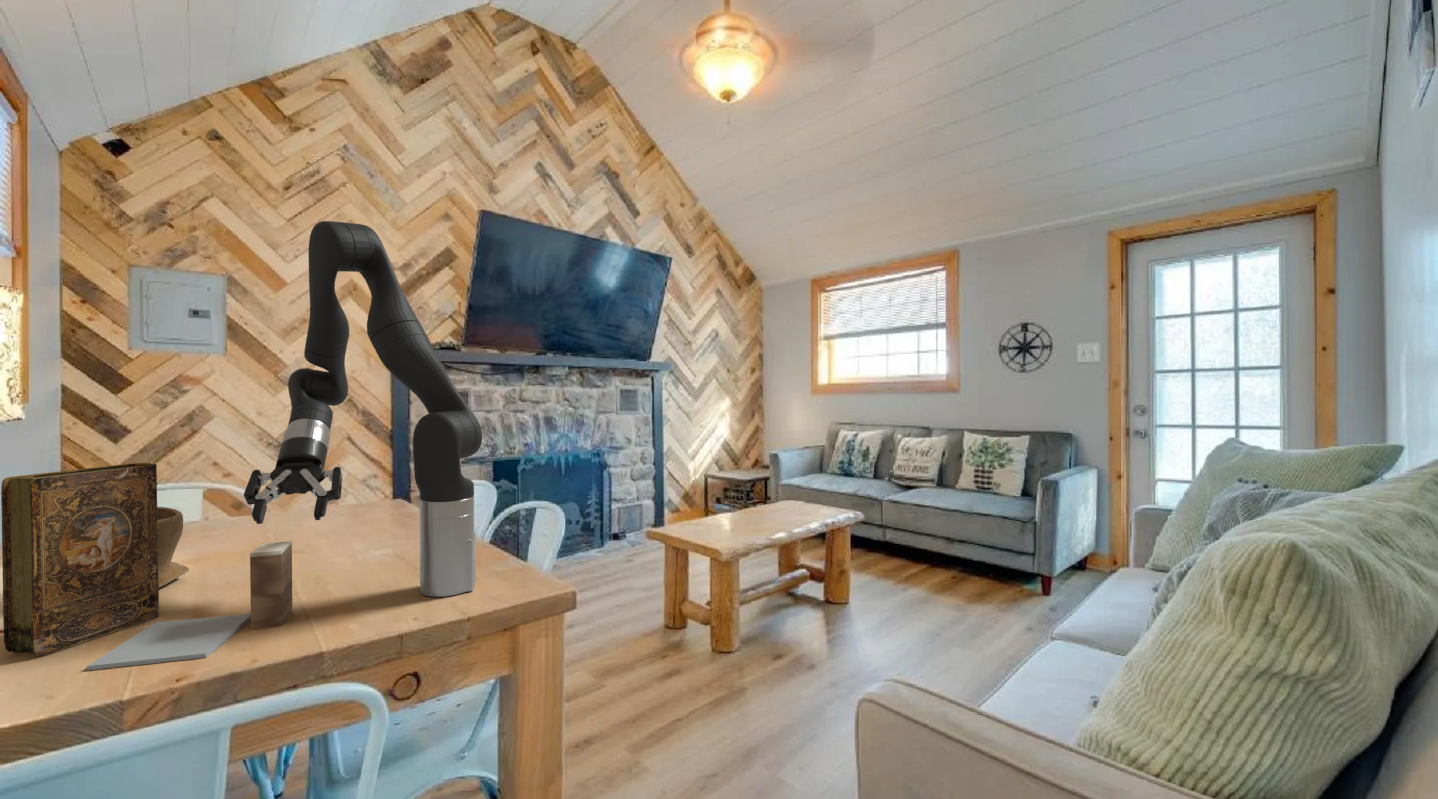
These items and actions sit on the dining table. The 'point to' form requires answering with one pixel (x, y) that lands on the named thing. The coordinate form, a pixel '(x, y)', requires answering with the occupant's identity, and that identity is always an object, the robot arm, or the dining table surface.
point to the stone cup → (169, 544)
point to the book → (78, 555)
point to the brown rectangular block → (271, 584)
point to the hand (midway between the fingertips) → (288, 519)
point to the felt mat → (173, 641)
